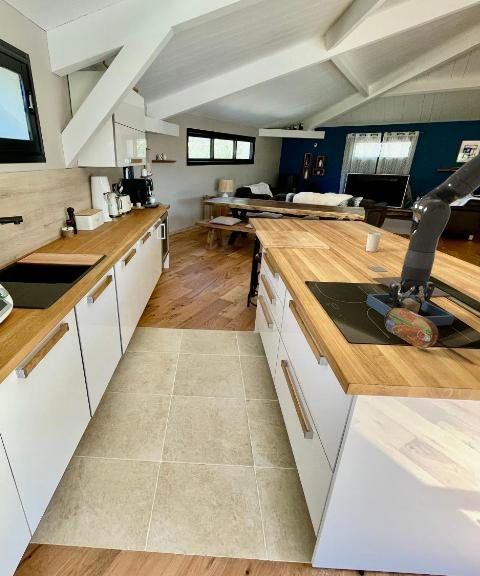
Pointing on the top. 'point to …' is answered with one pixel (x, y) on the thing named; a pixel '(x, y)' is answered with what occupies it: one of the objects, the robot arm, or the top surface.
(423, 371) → the top surface
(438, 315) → the blue rectangular frame
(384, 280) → the board
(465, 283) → the top surface
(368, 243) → the drinking glass
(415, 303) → the block
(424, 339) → the tin
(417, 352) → the top surface
